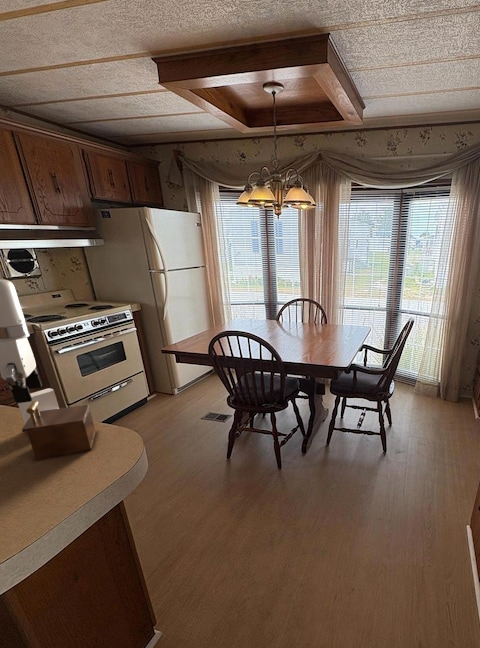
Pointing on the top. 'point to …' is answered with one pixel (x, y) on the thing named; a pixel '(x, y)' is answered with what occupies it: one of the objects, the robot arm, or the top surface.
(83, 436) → the compartment
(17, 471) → the top surface
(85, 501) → the top surface
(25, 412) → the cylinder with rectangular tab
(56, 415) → the compartment lid
